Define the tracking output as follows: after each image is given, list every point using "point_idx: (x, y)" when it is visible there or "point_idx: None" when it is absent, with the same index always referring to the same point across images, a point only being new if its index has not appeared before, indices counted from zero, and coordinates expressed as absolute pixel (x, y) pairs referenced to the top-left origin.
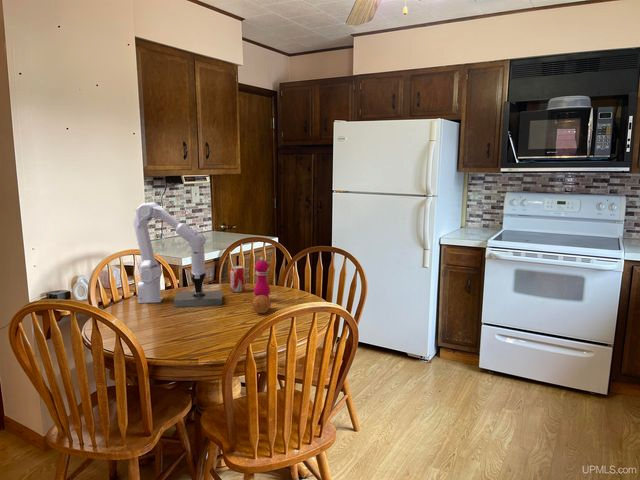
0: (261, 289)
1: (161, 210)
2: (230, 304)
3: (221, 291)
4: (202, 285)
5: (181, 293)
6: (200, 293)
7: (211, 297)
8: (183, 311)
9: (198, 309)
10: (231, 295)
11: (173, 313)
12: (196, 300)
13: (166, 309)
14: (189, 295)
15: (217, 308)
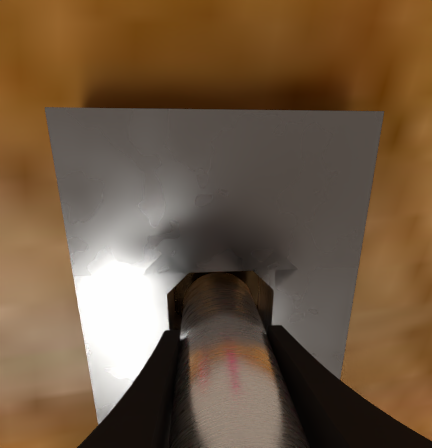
0: None
1: None
2: (342, 39)
3: (88, 117)
4: (261, 365)
5: None
6: (260, 320)
7: (321, 210)
8: (409, 346)
9: (398, 273)
10: (22, 24)
11: (427, 385)
12: (344, 317)
13: None
14: None
15: (420, 150)
